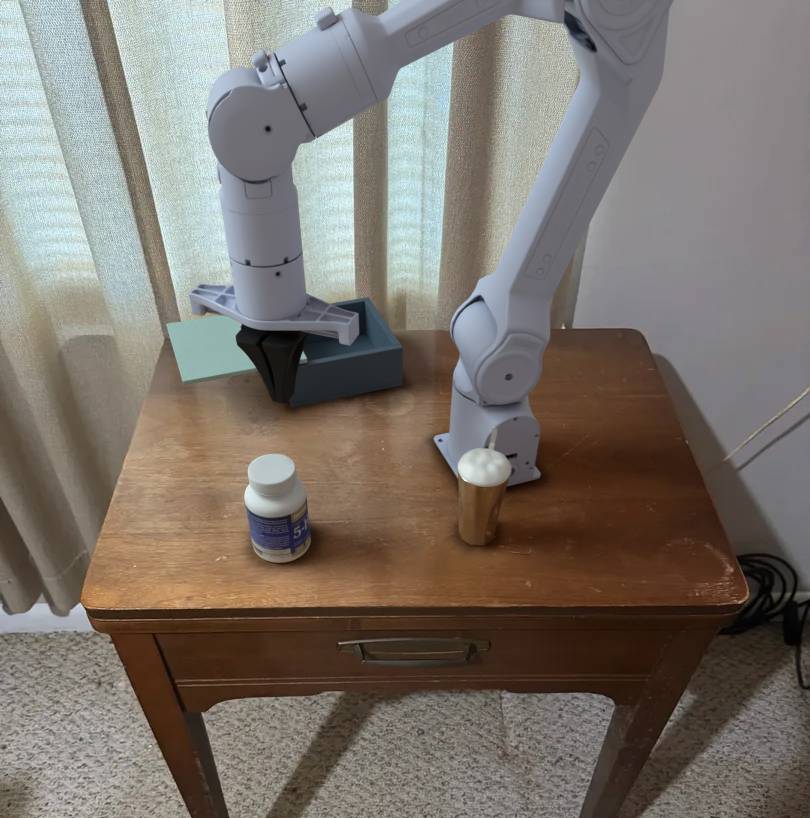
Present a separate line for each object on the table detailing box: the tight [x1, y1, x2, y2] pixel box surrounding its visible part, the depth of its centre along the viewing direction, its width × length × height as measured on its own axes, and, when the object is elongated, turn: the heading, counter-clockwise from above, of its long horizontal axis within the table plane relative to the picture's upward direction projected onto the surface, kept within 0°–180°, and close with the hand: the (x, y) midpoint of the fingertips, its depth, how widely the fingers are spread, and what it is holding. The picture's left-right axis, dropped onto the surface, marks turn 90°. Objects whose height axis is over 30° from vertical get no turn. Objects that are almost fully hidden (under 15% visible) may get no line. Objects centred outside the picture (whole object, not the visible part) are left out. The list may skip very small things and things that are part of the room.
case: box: [288, 296, 404, 408], centre depth 87 cm, size 12×13×5 cm
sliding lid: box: [165, 315, 307, 386], centre depth 81 cm, size 12×13×5 cm
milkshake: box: [457, 428, 511, 547], centre depth 67 cm, size 4×5×10 cm
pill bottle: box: [243, 453, 312, 564], centre depth 66 cm, size 5×5×9 cm
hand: (283, 396), depth 68 cm, fingers closed
